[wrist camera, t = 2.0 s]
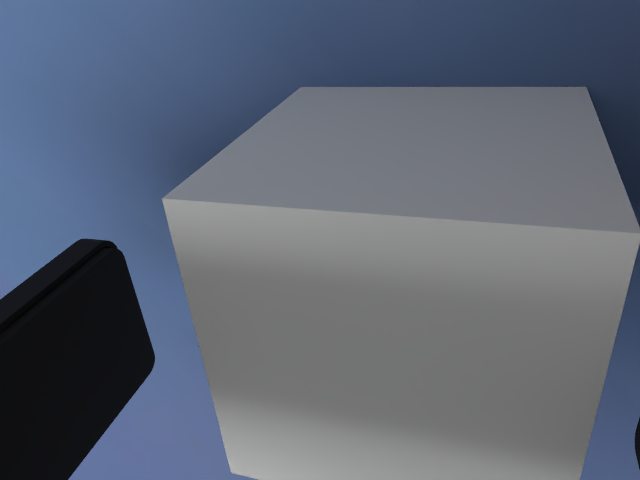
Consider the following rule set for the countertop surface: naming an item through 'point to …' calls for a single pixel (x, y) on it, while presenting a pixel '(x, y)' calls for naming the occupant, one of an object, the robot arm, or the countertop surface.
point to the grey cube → (408, 282)
